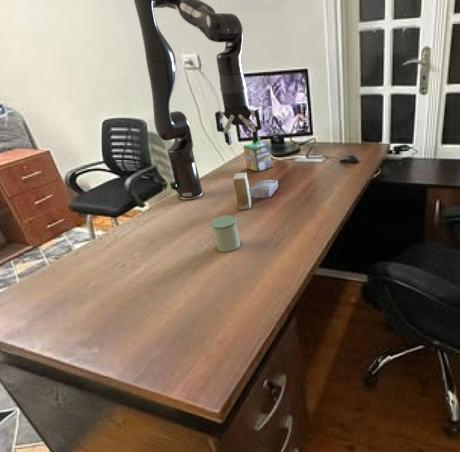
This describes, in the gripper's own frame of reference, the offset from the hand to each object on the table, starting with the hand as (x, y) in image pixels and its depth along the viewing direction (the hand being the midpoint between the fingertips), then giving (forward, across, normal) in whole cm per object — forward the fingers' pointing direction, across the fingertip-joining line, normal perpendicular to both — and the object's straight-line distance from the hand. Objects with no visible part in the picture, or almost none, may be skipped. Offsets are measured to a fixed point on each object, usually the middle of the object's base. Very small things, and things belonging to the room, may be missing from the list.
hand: (242, 143), depth 113 cm
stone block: (+26, +1, -20) cm, 32 cm away
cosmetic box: (+26, +5, -7) cm, 27 cm away
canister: (+25, +3, +22) cm, 33 cm away
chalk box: (+26, +9, -51) cm, 58 cm away
